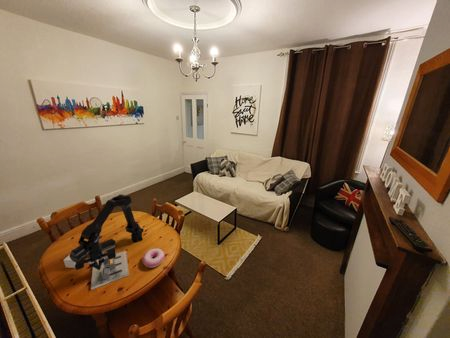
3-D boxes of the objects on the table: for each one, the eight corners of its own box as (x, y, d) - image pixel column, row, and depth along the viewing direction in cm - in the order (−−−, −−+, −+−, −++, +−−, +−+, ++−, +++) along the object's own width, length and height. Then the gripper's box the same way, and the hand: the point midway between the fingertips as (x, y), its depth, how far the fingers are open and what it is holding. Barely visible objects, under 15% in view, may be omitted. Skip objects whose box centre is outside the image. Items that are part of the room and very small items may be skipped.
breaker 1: (109, 257, 114) (108, 253, 113) (109, 262, 111) (108, 257, 110) (103, 259, 113) (102, 254, 111) (103, 264, 109) (102, 259, 108)
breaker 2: (109, 271, 105) (108, 267, 103) (109, 277, 101) (108, 272, 100) (103, 274, 103) (102, 269, 102) (103, 279, 100) (101, 274, 99)
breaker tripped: (115, 262, 111) (114, 257, 110) (115, 267, 108) (114, 262, 106) (109, 264, 109) (108, 259, 108) (109, 269, 106) (108, 264, 105)
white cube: (65, 267, 108) (63, 259, 106) (73, 259, 114) (71, 252, 112) (75, 267, 108) (73, 260, 106) (83, 259, 114) (81, 252, 112)
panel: (126, 252, 121) (126, 250, 121) (129, 275, 105) (128, 273, 105) (93, 262, 112) (93, 260, 112) (91, 289, 96) (90, 287, 96)
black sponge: (89, 260, 114) (88, 255, 113) (86, 253, 119) (84, 248, 118) (117, 247, 126) (116, 242, 124) (113, 240, 131) (112, 236, 130)
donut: (155, 272, 108) (154, 266, 106) (138, 265, 112) (137, 259, 110) (169, 256, 120) (168, 250, 118) (153, 250, 124) (152, 244, 122)
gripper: (113, 234, 111) (117, 253, 116) (75, 244, 102) (81, 265, 107) (113, 245, 102) (117, 266, 107) (71, 258, 93) (78, 280, 98)
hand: (99, 269), depth 105 cm, fingers closed
